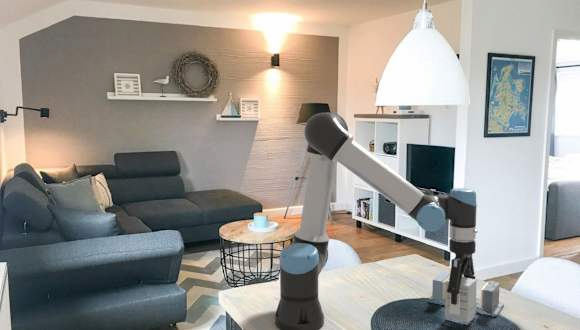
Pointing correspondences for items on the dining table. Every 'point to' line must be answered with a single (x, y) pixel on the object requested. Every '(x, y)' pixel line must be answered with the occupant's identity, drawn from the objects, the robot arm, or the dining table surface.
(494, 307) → the vise
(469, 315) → the supplement box
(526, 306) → the dining table surface
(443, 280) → the block
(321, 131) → the robot arm
